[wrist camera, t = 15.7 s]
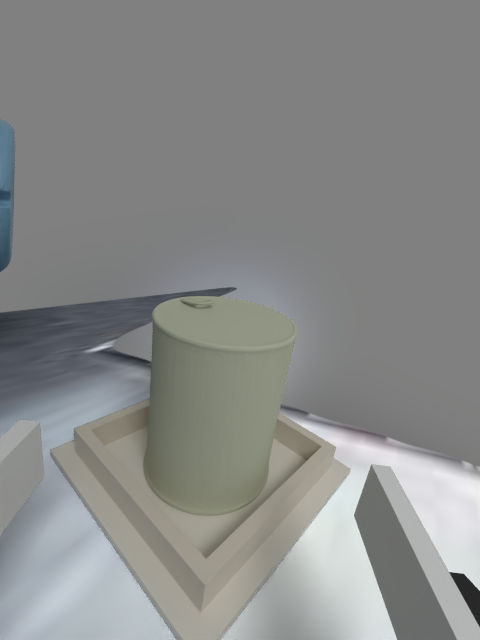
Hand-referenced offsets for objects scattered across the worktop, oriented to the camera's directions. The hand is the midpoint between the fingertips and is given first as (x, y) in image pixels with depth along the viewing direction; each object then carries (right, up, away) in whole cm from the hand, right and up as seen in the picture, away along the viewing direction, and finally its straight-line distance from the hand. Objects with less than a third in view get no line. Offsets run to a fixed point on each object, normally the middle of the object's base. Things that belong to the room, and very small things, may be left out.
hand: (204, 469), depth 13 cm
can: (-1, -5, +11) cm, 12 cm away
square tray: (-1, -5, +11) cm, 13 cm away
